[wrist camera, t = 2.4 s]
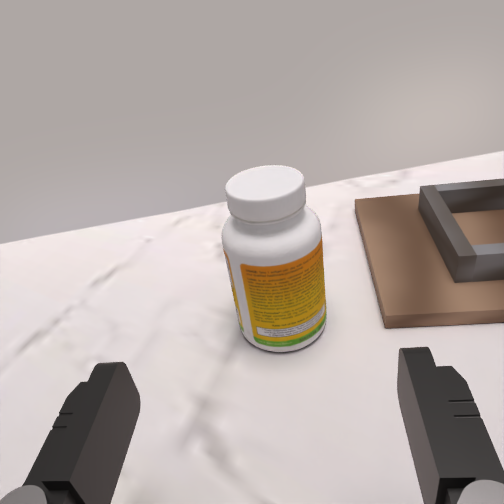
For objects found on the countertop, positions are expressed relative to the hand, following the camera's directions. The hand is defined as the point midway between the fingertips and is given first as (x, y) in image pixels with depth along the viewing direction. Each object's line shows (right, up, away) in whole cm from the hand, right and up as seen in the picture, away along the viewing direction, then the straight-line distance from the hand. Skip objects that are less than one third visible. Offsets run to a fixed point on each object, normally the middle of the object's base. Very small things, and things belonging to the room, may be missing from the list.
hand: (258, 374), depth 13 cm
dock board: (+17, +4, +17) cm, 25 cm away
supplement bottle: (+2, -1, +15) cm, 15 cm away
